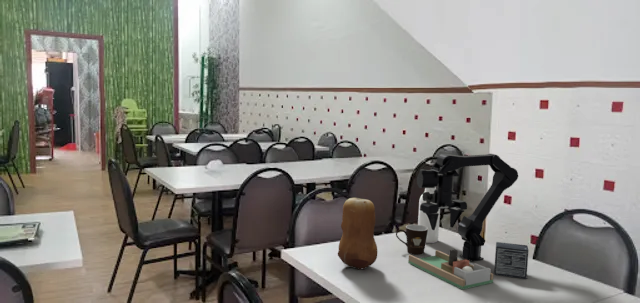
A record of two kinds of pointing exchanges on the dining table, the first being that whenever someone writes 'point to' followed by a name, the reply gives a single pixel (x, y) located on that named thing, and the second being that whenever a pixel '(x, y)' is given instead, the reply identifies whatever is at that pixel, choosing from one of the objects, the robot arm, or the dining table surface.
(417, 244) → the coffee mug
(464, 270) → the ball
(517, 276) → the small box
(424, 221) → the alcohol
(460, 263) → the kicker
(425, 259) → the tray
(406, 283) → the dining table surface
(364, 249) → the butternut squash
